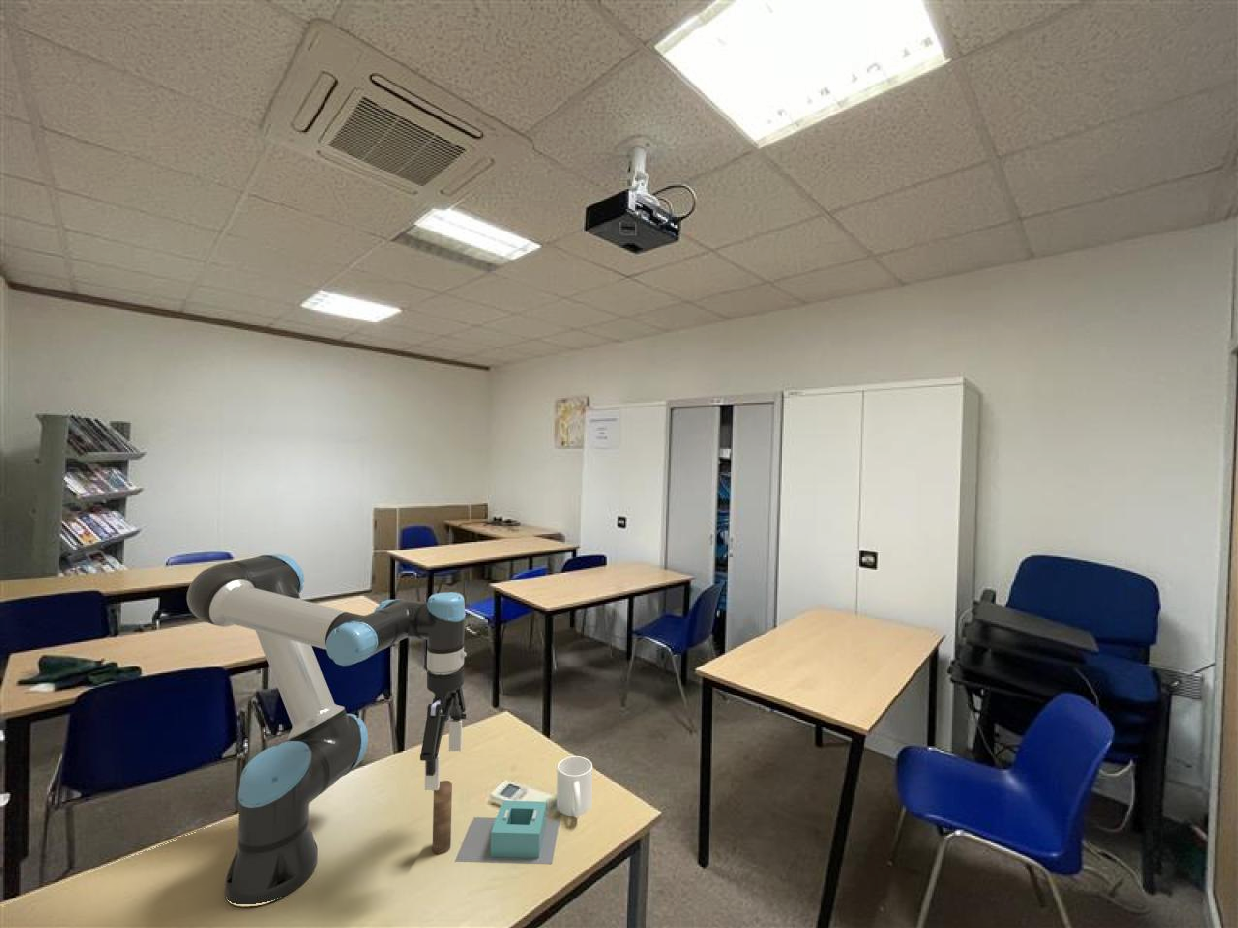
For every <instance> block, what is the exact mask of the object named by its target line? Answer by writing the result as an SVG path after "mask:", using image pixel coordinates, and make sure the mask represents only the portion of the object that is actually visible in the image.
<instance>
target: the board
mask: <svg viewBox="0 0 1238 928" xmlns="http://www.w3.org/2000/svg"><path fill="white" fill-rule="evenodd" d="M496 818H497V817H488V816H487V817H484V816H482V817H480V816H479V817H478V816H473V818H472V821H471V822H470V825H469V827H468V830H467V832H466V834H465V837H464V838H463V841H462V843H461V846H460V849H459V850H458V853H457V856H456V858H455V860H454V862H455V863H456V862H459V863H461V862H463V863H492V864H527V865H553V861H554V858H555V857H554V856H555V850H556V845H557V840H558V839H557V838H558V834H559V828H560V822H561V819H557V818H556V819H555V818H554V819H553V818H552V819H551V818H546V827H545V832H544V836H543V841H542V845H541V850H540V855H539V858H521V857H491V832H492V829H493V826H494V824H495V821H496Z"/></svg>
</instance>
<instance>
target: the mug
mask: <svg viewBox="0 0 1238 928" xmlns="http://www.w3.org/2000/svg"><path fill="white" fill-rule="evenodd" d="M556 783H557V784H556V787H557V788H556V791H557V792H556V793H557V794H556V808H557V807H558V808H557V810H558V812H559V813H560V814H562V815H564V816H568V817H574V818H576V819H578V818H580V816H582V815H585V814H586V813H588V811H590V809H591V807H592V795H593V794H592V790H593V787H592V785H593V763H592V762H591V760H590V759H588V758H587V757H584V756H582V755H581V756H580V755H572V756H571V755H570V756H567V757H565V758H563V759H561V760H560V761H559V762H558V764H557V782H556Z"/></svg>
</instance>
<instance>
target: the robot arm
mask: <svg viewBox="0 0 1238 928" xmlns="http://www.w3.org/2000/svg"><path fill="white" fill-rule="evenodd" d="M304 582H305V574H304V571H303V569H302V567H301V566H300V565H299V563H298V562H297V561H296V560H295V559H294V558H292V557H290V556H287V555H285V554H280V553H276V554H275V553H274V554H263V555H262V554H261V555H259V556H255V557H254V556H253V557H249V558H245V559H240V560H235V561H234V560H233V561H230V562H221V563H218V564H215V565H212V566H210V567H207V568H206V569H204V570H202V571H201V572H200V573H199V574H198V575H196V576H195V577H194V579H193V580H192V581H191V583H190V585H189V587H188V589H187V592H186V603H187V606H188V608H189V609H188V610H189V611H190V612H191V613H192V614H193V616H195V617H196V618H197V619H199V620H201V621H203V622H205V623H208V624H210V625H214V626H217V627H218V626H219V627H225V628H227V627H231V626H234V625H235V626H239V627H243V628H246V629H250V630H252V631H253V630H254V631H255V632H256V636H257V637H258V641H259V642H260V643H259V644H260V645H261V648H262V650H263V653H264V656H265V658H266V661H267V663H268V666H269V668H270V671H271V674H272V676H273V679H274V681H275V683H276V687H277V689H278V692H279V694H280V697H281V699H282V702H283V704H284V708H285V709H286V712H287V715H288V718H289V720H290V723H291V725H292V729H291V730H290V733H289V735H288V736H287V738H288V741H285V742H282V743H279V744H278V745H273V746H270V747H269V748H267V749H265V750H263V751H261V752H259V753H258V754H256V755H255V756H254V757H253V758H251V759H250V761H249V762H248V763H247V764H246V765H245V766H244V768H243V770H242V772H241V774H240V778H239V787H238V790H237V801H238V815H237V816H238V818H237V819H238V820H237V821H238V822H237V823H238V825H237V826H238V827H237V848H236V851H235V853H234V856H233V858H232V861H231V864H230V867H229V870H228V872H227V874H226V876H225V883H224V896H225V895H226V897H227V899H228V900H229V901H231V902H232V903H236V904H256V903H262V902H267V901H271V900H274V899H277V898H280V897H282V898H284V897H286V896H288V895H290V894H291V893H293V892H294V891H296V890H297V889H299V888H301V886H302V885H303V884H304V883H305V882H306V881H307V880H309V878H310V877H311V875H312V874H313V873H314V872H315V869H316V868H317V865H318V858H319V855H318V854H319V852H318V851H319V848H318V845H317V842H316V841H315V838H314V835H313V833H312V829H311V827H310V823H309V821H310V820H309V818H310V817H309V816H310V804H311V802H312V801H314V800H315V799H316V798H318V796H320V795H321V794H323V793H324V792H325V791H326V790H327V789H329V788H330V787H331V786H332V785H334V784H335V783H336V782H338V781H339V780H340V779H342V778H343V777H345V776H347V775H348V774H350V773H351V771H353V769H354V768H355V767H356V766H357V765H358V764H359V763H360V762H361V761H362V760H363V759H364V756H366V751H367V749H368V747H369V746H368V745H369V734H368V733H369V732H368V729H367V727H366V724H365V723H364V720H362V718H360V717H358V716H357V715H355V714H353V713H347V710H346V708H345V706H342V705H338V704H336V703H335V702H334V701H335V700H334V699H333V696H332V694H331V692H330V689H329V687H328V685H327V682H326V680H325V677H324V674H323V672H322V670H321V667H320V664H319V661H318V660H317V657H316V654H315V652H314V650H313V647H315V648H319V649H322V650H326V654H327V656H328V657H329V659H331V660H332V661H333V662H334V663H335V665H338V666H341V667H348V666H349V667H350V666H352V665H355V664H357V663H360V662H363V661H365V660H367V659H369V658H370V657H372V656H374V655H375V654H377V653H380V652H381V651H383V650H384V649H386V648H388V647H390V646H393V645H395V644H396V643H399V642H400V641H402V640H405V639H420V640H424V639H425V640H427V641H426V642H427V648H426V649H427V650H426V669H427V672H426V689H427V690H428V691H429V692H431V693H433V694H434V697H433V700H432V703H428V704H427V707H426V708H427V710H426V711H427V712H426V721H425V727H424V732H423V737H422V738H423V740H422V744H421V750H420V753H419V760H420V761H422V762H423V761H424V791H434V790H439V788H440V782H441V778H440V777H441V754H439V752H440V749H441V742H442V738H443V734H444V729H445V724H446V722H447V721H448V720H449V718H450V720H449V722H448V752H461V751H462V750H463V720H466V719H467V713H466V710H467V709H466V708H467V707H466V704H465V697H464V693H463V685H464V684H465V667H464V665H465V658H466V657H467V655H468V654H467V652H466V651H465V632H466V631H465V629H466V628H465V627H466V615H467V614H466V607H465V606H466V605H465V604H466V603H465V597H464V595H462V594H461V593H460V592H454V591H451V592H450V591H449V592H438V593H434V594H432V595H431V596H429V598H428V599H427V600H428V601H427V602H426V601H414V600H406V599H400V598H399V599H398V598H397V599H386V600H384V601H382V602H381V603H379V606H377V607H376V608H375V610H374V612H371V613H368V614H367V615H363V614H362V615H361V614H358V613H352V612H350V611H349V612H348V611H345V610H341V609H338V608H334V607H330V606H326V605H322V604H317V603H314V602H311V601H306V600H303V599H302V598H301V597H300V593H301V592H302V590H303V589H304V584H303V583H304ZM283 896H284V897H283ZM226 897H225V898H226ZM227 899H226V900H227ZM280 899H281V898H280Z"/></svg>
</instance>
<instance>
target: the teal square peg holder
mask: <svg viewBox="0 0 1238 928" xmlns="http://www.w3.org/2000/svg"><path fill="white" fill-rule="evenodd" d="M547 803H548V802H547V801H536V800H535V801H534V800H533V801H531V800H505V799H504V800H502V801H501V804H500V808H499V810H498V813H497V815H496V817H495V818H496V821H495V824H494V826H493V829H492V832H491V857H521V858H539V855H540V850H541V845H542V841H543V836H544V832H545V827H546V819H547V809H548V808H547V807H548V806H547Z"/></svg>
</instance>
